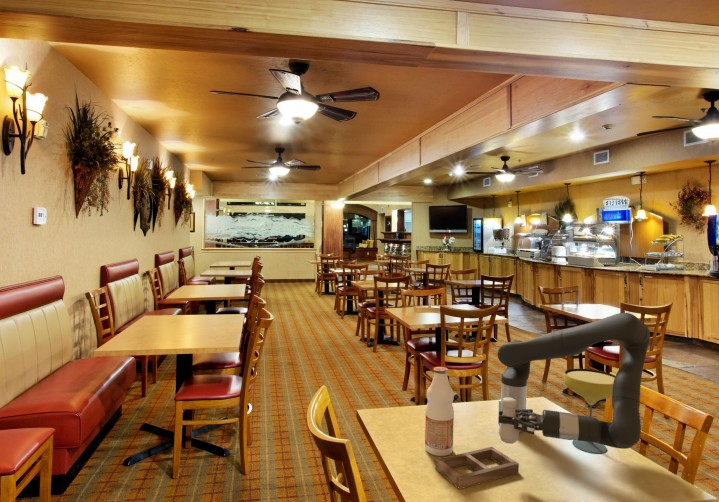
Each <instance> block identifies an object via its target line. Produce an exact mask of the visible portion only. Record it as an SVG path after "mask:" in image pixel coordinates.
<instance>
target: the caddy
mask: <svg viewBox="0 0 719 502" xmlns="http://www.w3.org/2000/svg"><path fill="white" fill-rule="evenodd" d="M490 459H492V460H493V461H494V462H496V463H498V464H499V465H495V466H492V467H488V466H487V465H486V464H483V462H482V461H486V460H490ZM519 465H520V463H519V462H517V461H516V460H514V459H512V458H510V457H509V456H507V455H506V454H504V453H503V452H501V451H499V450H498V449H496V448H495V447H494V446H489V447H484V448H480V449H475V450H471V451H467V452H462V453H458V454H454V455H451V456H449V455H448V456H444V457H441V458H437V459H435V470H436V471H437V472H438V471H439V474H441V475H442V476H443V477H444V476H445V477H444V478H445V479H447V480H448V481H449V480H450V481H451V482H450V481H449V482H450V483H451V484H453V483H454V484H455V485H456V486H457V487H456V486H455V485H454V484H453V485H454V486H455V487H456V488H458V487H459V488H462V489H464V488H463V487H466V488H468V487H467V486H469V487H472V486H471V485H473V486H477V485H480V484H485V483H487V482H491V481H495V480H499V479H502V478H505V477H511V476H513V475H517V474H519V470H520V469H519V467H520V466H519ZM463 466H466V467H468V468H470V469H471V470H473V472H468V473H464V474H460V473H459V472H457V471H456V470H455V469H454V468H457V467H463ZM479 483H480V484H479ZM476 484H477V485H476ZM459 488H458V489H459Z"/></svg>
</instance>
